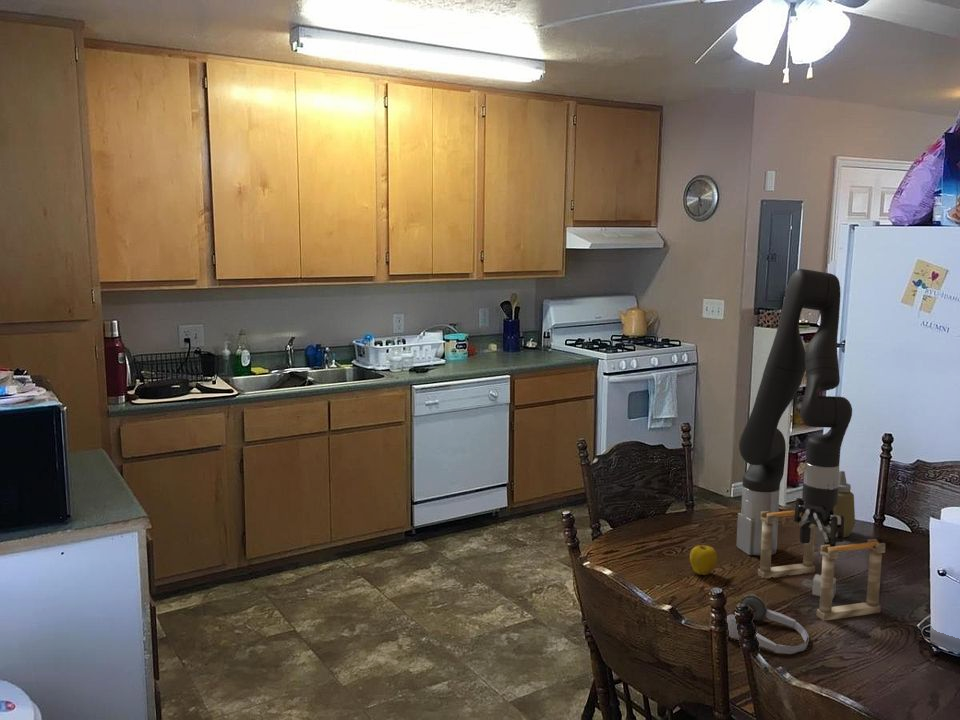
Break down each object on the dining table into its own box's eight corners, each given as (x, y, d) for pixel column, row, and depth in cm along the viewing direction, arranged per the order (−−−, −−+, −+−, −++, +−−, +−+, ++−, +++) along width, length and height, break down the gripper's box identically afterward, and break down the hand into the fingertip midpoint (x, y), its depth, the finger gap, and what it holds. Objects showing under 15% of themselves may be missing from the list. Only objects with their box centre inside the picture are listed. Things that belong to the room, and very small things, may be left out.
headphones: (696, 628, 165) (793, 673, 153) (701, 604, 163) (799, 648, 152) (727, 598, 178) (817, 637, 167) (732, 575, 177) (823, 613, 165)
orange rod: (830, 553, 168) (831, 548, 168) (827, 551, 169) (827, 546, 169) (880, 547, 171) (880, 542, 171) (876, 545, 172) (876, 540, 172)
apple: (684, 574, 193) (685, 543, 192) (697, 566, 198) (698, 536, 197) (708, 582, 189) (709, 550, 188) (720, 573, 193) (722, 543, 192)
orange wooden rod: (769, 519, 189) (769, 514, 189) (766, 517, 190) (766, 512, 190) (814, 514, 192) (814, 509, 192) (811, 512, 193) (811, 507, 193)
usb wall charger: (832, 600, 179) (833, 583, 178) (800, 593, 183) (801, 576, 182) (835, 593, 182) (836, 577, 182) (803, 586, 186) (804, 570, 185)
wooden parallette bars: (824, 621, 169) (829, 550, 167) (757, 574, 193) (759, 511, 191) (881, 613, 173) (886, 543, 170) (807, 567, 196) (811, 506, 194)
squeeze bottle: (859, 539, 215) (863, 475, 212) (829, 539, 215) (833, 475, 212) (846, 528, 223) (850, 467, 220) (817, 528, 223) (821, 467, 220)
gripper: (787, 474, 185) (783, 539, 187) (827, 493, 171) (822, 563, 174) (815, 472, 186) (810, 537, 189) (857, 490, 173) (851, 560, 175)
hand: (816, 549), depth 181 cm, fingers open, 8 cm apart
